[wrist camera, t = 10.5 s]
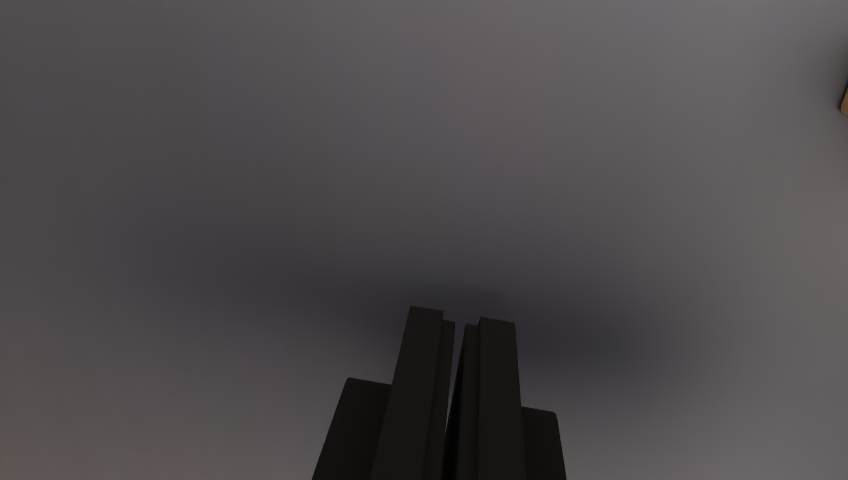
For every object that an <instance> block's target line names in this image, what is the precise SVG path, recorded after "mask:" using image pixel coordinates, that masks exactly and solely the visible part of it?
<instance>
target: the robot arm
mask: <svg viewBox="0 0 848 480" xmlns="http://www.w3.org/2000/svg"><path fill="white" fill-rule="evenodd" d="M443 312H444V311H441V310H435V309H429V308H423V307H416V306H410V309H409V314H408V318H407V322H406V326H405V331H404V335H403V339H402V344H401V348H400V352H399V357H398V361H397V365H396V369H395V374H394V378H393V382H392V385H391V384H385V383H379V382H373V381H367V380H361V379H355V378H347V380H346V382H345V385H344V388H343V390H342V393H341V396H340V399H339V402H338V405H337V408H336V411H335V414H334V416H333V419H332V422H331V425H330V428H329V431H328V434H327V437H326V440H325V442H324V445H323V448H322V451H321V454H320V457H319V460H318V463H317V465H316V468H315V471H314V474H313V477H312V480H567V479H566V472H565V466H564V459H563V453H562V446H561V440H560V433H559V427H558V420H557V417H556V414H555V413H554V412H551V411H545V410H539V409H534V408H528V407H522V406H521V398H520V384H519V371H518V358H517V344H516V331H515V323H514V322H508V321H502V320H496V319H490V318H483V317H480V320H479V324H478V326H477V325H471V324H466V326H465V330H464V335H463V341H462V346H461V352H460V357H459V363H458V368H457V374H456V379H455V384H454V390H453V395H452V401H451V406H450V412H449V417H448V423H447V428H446V419H447V409H448V398H449V387H450V376H451V366H452V355H453V344H454V334H455V322H453V321H447V320H443ZM445 430H446V433H445Z"/></svg>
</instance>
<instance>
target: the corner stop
mask: <svg viewBox="0 0 848 480" xmlns="http://www.w3.org/2000/svg"><path fill="white" fill-rule="evenodd" d="M841 112H842V113H844V114H845V115H848V89H847V92H846V94H845V97H844V100H843V102H842V105H841Z"/></svg>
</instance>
